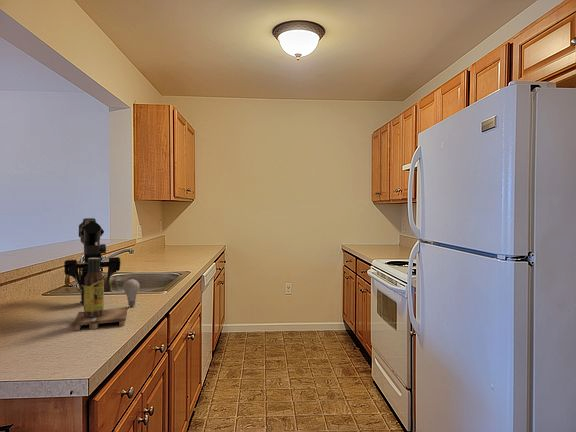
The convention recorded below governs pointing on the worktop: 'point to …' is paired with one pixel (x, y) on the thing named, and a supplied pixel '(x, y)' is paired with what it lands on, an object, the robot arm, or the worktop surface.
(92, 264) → the sauce bottle
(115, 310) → the wooden pallet
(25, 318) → the worktop surface
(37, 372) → the worktop surface
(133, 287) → the lightbulb
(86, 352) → the worktop surface
